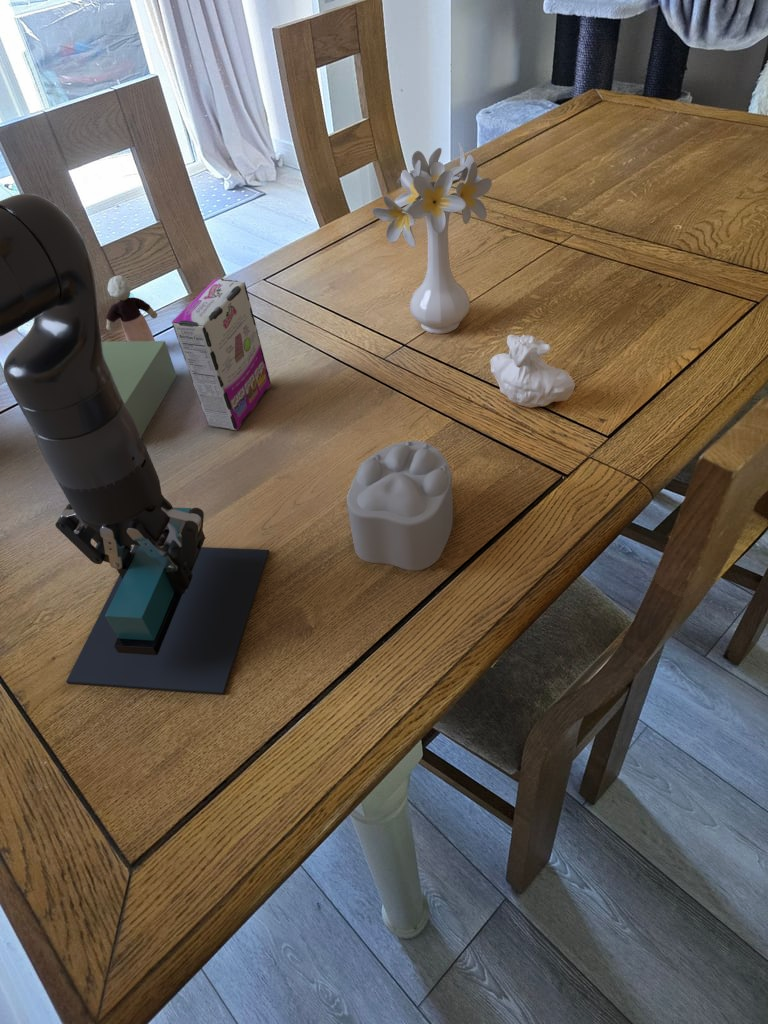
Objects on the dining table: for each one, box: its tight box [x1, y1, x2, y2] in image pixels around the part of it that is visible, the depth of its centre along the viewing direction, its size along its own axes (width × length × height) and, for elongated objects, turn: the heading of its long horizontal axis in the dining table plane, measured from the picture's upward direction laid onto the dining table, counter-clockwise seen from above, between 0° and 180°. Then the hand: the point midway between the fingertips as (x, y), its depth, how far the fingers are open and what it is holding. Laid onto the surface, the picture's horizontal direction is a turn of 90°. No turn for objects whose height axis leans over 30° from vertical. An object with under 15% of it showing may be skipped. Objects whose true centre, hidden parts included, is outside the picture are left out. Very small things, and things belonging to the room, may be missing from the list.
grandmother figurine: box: [105, 275, 158, 341], centre depth 106 cm, size 8×4×13 cm, turn 130°
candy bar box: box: [171, 278, 272, 432], centre depth 92 cm, size 11×5×16 cm, turn 161°
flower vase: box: [371, 141, 493, 335], centre depth 100 cm, size 13×18×25 cm
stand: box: [102, 340, 177, 438], centre depth 98 cm, size 10×17×6 cm, turn 173°
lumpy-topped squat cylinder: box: [346, 440, 454, 572], centre depth 76 cm, size 10×13×9 cm
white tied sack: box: [489, 333, 576, 408], centre depth 90 cm, size 12×8×11 cm
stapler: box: [105, 506, 206, 655], centre depth 69 cm, size 15×4×5 cm, turn 173°
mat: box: [65, 545, 270, 696], centre depth 73 cm, size 16×18×1 cm
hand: (161, 585), depth 70 cm, fingers closed on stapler, 4 cm apart
